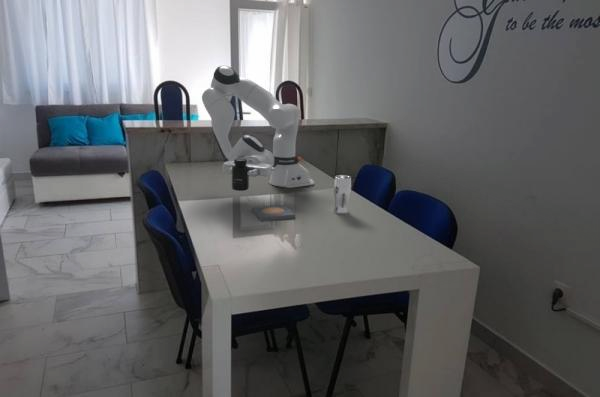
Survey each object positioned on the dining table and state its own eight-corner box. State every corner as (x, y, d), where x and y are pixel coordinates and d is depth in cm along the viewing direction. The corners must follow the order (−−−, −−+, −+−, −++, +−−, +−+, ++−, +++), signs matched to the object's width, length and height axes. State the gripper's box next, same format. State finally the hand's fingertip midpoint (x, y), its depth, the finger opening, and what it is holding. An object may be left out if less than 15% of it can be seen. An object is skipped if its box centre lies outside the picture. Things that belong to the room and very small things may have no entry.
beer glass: (351, 211, 197) (353, 176, 192) (346, 215, 190) (348, 179, 186) (336, 208, 199) (337, 174, 195) (330, 213, 193) (331, 177, 189)
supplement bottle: (235, 191, 183) (235, 161, 180) (229, 187, 189) (228, 158, 186) (251, 190, 186) (251, 160, 183) (245, 186, 192) (245, 157, 189)
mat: (284, 208, 197) (284, 204, 197) (295, 218, 186) (295, 214, 185) (252, 211, 192) (252, 207, 192) (260, 221, 181) (260, 217, 180)
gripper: (276, 175, 196) (263, 183, 183) (232, 170, 202) (216, 177, 189) (276, 160, 194) (264, 167, 181) (231, 156, 200) (216, 162, 187)
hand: (239, 172), depth 185 cm, fingers closed on supplement bottle, 7 cm apart
